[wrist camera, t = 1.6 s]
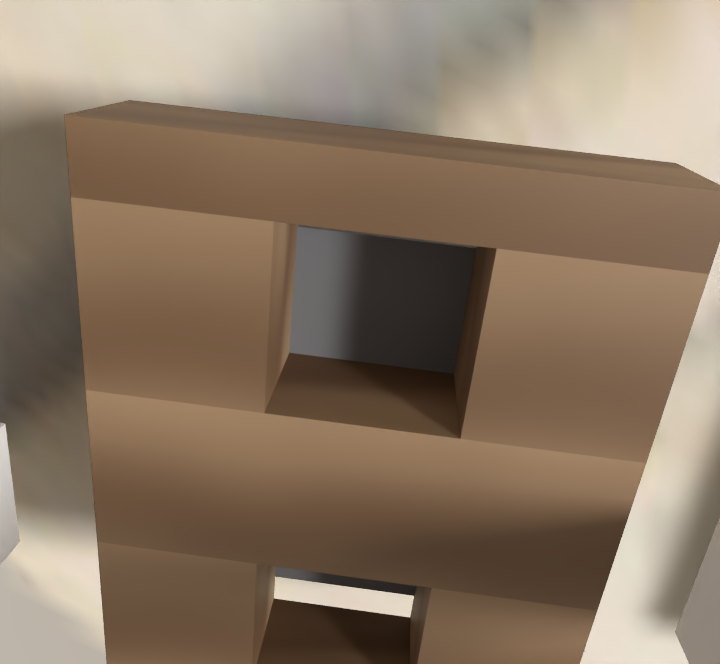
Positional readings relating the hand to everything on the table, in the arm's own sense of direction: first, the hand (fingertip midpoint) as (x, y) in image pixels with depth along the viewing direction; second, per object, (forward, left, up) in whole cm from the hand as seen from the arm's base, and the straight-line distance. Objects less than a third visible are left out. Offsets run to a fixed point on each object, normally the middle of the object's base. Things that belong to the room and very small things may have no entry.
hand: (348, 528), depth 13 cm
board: (0, 0, -3) cm, 3 cm away
